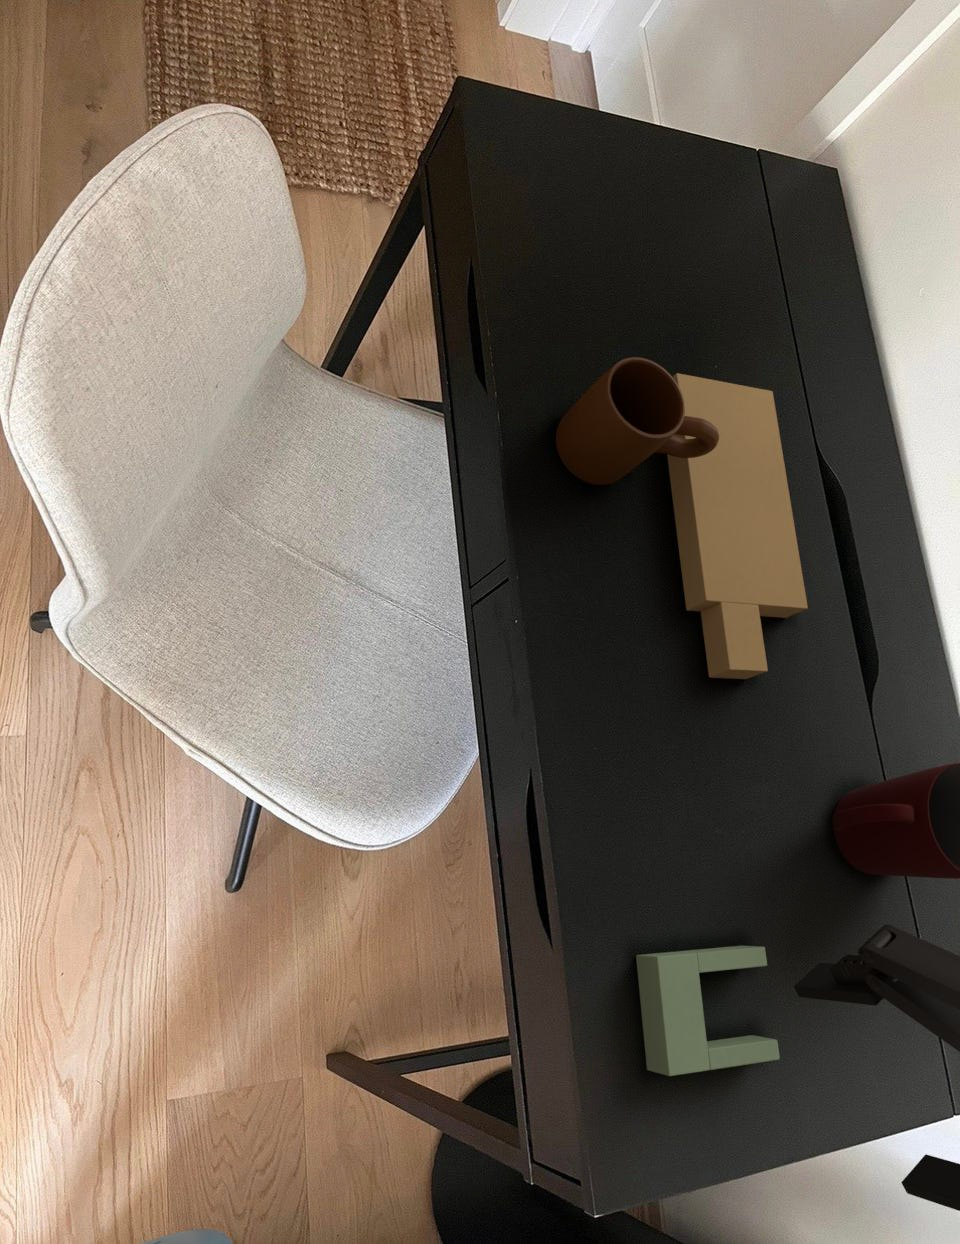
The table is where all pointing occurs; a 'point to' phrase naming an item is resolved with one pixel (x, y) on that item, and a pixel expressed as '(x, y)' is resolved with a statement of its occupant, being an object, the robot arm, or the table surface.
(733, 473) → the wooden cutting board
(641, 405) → the mug
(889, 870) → the mug
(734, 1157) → the table surface
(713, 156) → the table surface
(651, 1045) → the green block
